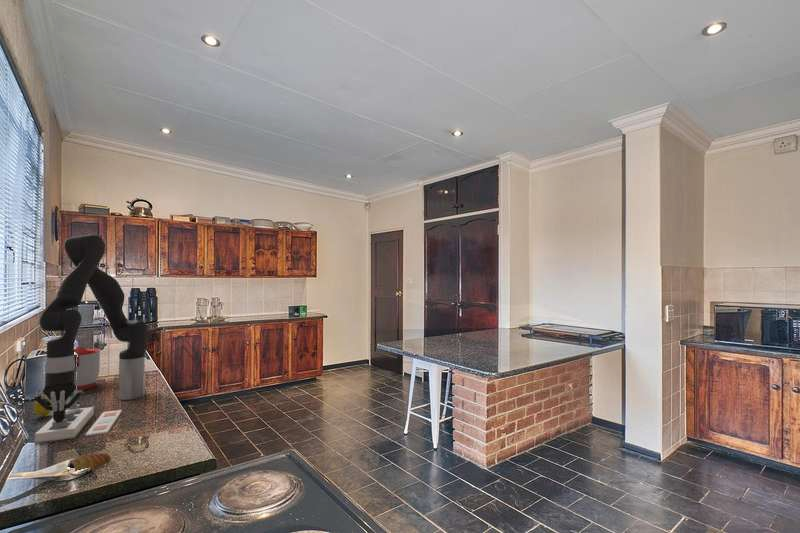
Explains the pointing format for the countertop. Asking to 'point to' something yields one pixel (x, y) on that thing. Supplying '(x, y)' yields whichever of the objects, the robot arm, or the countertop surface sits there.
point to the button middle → (70, 416)
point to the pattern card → (104, 423)
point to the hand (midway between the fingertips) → (59, 421)
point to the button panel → (64, 433)
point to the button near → (60, 424)
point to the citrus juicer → (87, 367)
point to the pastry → (89, 461)
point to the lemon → (41, 409)
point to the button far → (77, 411)
